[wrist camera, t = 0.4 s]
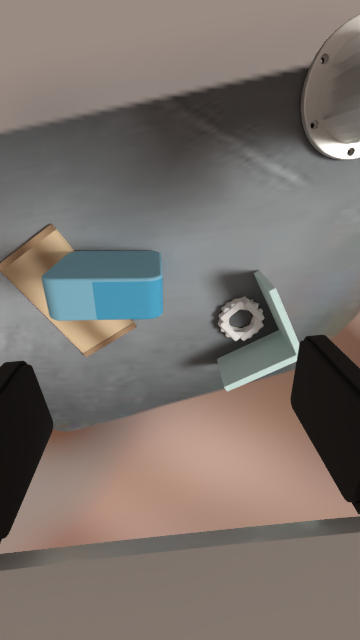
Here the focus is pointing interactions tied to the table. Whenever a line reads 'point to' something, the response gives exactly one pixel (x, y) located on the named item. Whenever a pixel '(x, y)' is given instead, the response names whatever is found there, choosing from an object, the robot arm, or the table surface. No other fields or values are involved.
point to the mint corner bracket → (262, 352)
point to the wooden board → (26, 276)
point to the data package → (105, 286)
